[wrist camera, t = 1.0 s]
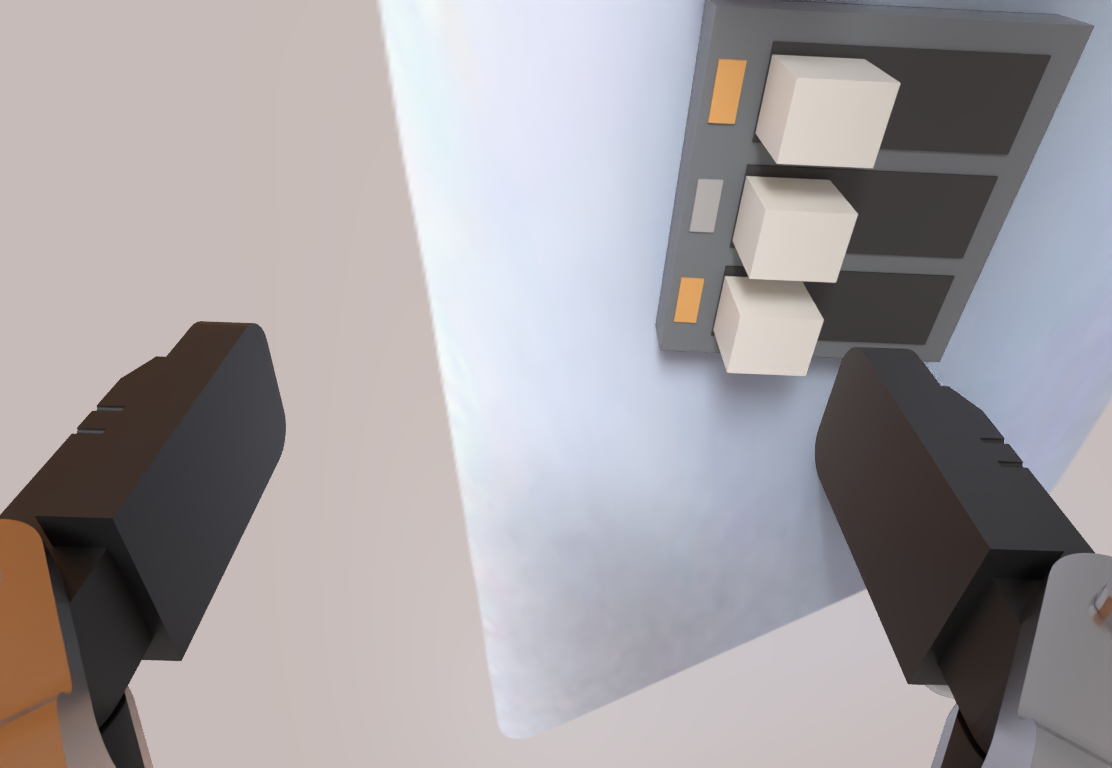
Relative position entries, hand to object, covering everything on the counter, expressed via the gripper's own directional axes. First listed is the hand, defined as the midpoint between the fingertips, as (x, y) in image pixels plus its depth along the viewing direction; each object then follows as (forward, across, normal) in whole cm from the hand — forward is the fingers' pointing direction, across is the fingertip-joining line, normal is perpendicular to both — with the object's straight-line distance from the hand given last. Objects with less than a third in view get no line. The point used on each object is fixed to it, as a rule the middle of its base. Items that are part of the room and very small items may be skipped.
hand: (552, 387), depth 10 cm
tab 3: (+17, -8, +8) cm, 20 cm away
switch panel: (+19, -11, +4) cm, 22 cm away
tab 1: (+16, -8, 0) cm, 18 cm away
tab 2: (+17, -8, +4) cm, 19 cm away
